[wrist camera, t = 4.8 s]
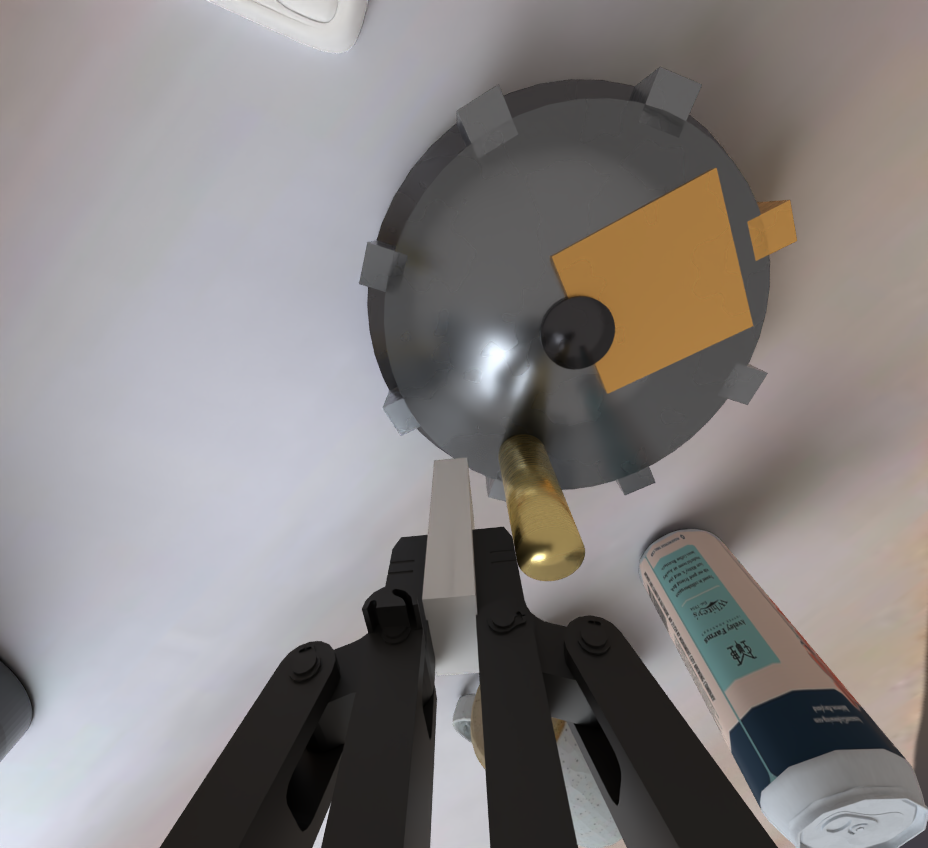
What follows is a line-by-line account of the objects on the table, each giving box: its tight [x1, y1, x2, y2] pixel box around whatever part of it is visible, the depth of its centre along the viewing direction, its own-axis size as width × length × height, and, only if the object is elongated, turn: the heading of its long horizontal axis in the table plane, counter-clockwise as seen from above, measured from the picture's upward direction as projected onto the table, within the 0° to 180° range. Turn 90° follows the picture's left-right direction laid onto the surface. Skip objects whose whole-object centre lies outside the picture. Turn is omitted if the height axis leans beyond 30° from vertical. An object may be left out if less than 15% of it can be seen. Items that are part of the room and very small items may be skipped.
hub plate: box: [367, 79, 727, 456], centre depth 18 cm, size 16×16×1 cm
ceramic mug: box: [453, 685, 622, 848], centre depth 25 cm, size 11×8×8 cm
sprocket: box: [359, 67, 797, 581], centre depth 14 cm, size 16×16×8 cm
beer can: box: [639, 529, 928, 848], centre depth 19 cm, size 5×5×12 cm
